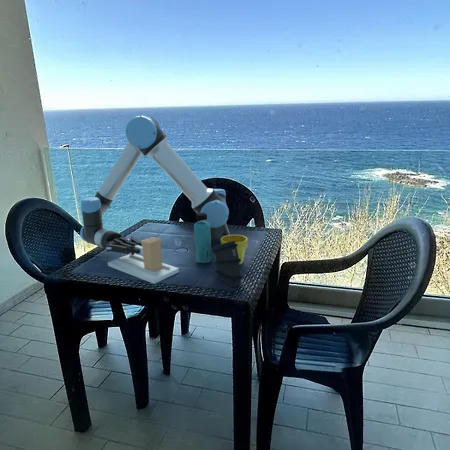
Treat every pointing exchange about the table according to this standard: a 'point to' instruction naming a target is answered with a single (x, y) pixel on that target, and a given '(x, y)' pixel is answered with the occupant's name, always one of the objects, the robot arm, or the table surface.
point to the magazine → (228, 263)
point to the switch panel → (142, 268)
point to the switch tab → (152, 253)
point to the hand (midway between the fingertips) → (147, 252)
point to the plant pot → (241, 243)
